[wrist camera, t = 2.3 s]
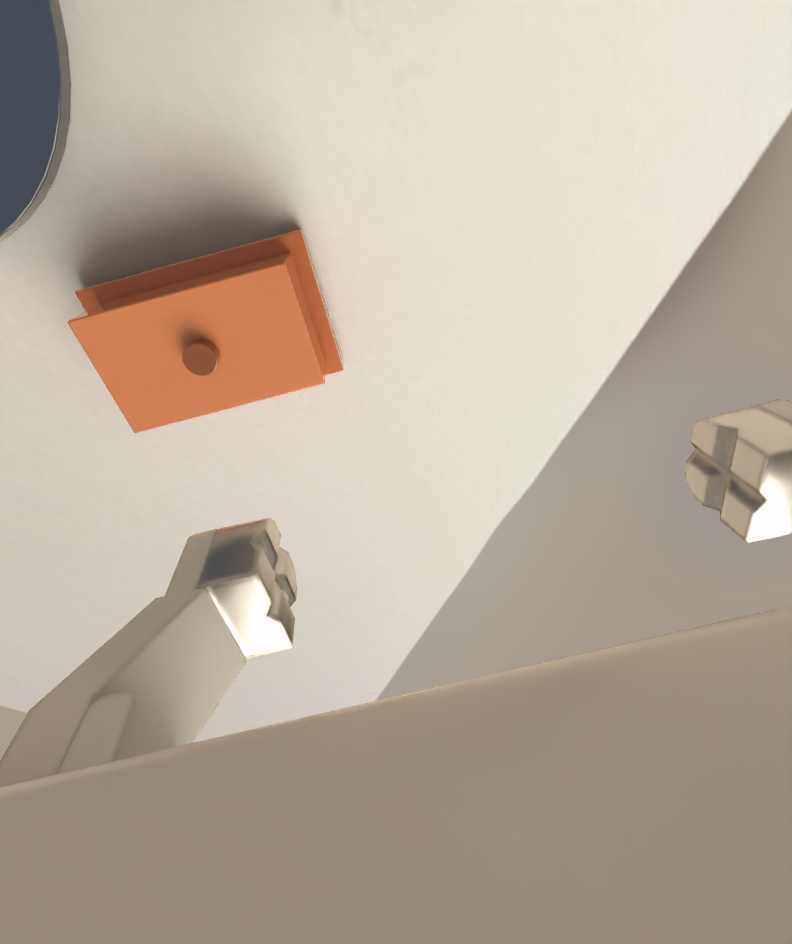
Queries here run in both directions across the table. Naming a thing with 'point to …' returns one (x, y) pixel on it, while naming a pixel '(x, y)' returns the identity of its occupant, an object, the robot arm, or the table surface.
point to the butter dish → (209, 332)
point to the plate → (31, 106)
